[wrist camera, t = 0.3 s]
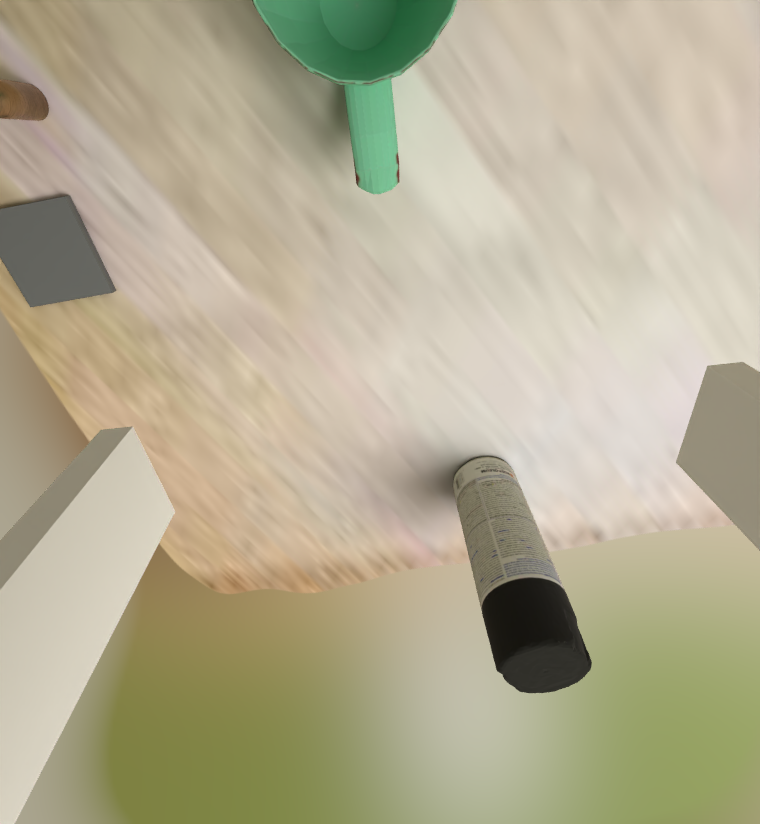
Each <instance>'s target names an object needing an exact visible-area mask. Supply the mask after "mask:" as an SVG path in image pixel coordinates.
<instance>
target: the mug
mask: <svg viewBox="0 0 760 824" xmlns="http://www.w3.org/2000/svg"><path fill="white" fill-rule="evenodd" d="M252 1H253V4H254V6H255V8H256V9H257V11H258V12H259V14H260V16H261V17H262V19H263V20H264V22H265V24H266V25H267V27H268V29H269V30H270V32H271V33H272V35H273V37H274V38H275V40H276V41H277V43H278V44H279V45H280V46H281V47H282V48H283V49H284V50H285V51H287V52H288V53H289V54H290V55H291V56H292V57H293V58H294V59H295V60H296V61H297V62H299V63H300V64H301V65H302V66H303V67H304V68H305V69H306V70H307V71H309V72H311V73H314V74H316V75H318V76H320V77H323V78H325V79H327V80H329V81H332V82H334V83H336V84H338V85H344V91H345V98H346V106H347V113H348V121H349V129H350V136H351V144H352V151H353V158H354V166H355V174H356V183H357V185H358V187H360V188H361V189H363V190H365V191H367V192H369V193H372V194H381V193H384V192H387V191H389V190H392V189H393V188H394V187H395V186H396V185H397V184H398V183H399V158H398V147H397V135H396V125H395V115H394V104H393V94H392V84H391V78H394V77H396V76H399V75H401V74H403V73H404V72H405V71H406V70H407V69H409V68H410V67H411V66H412V65H413V64H414V63H416V62H417V61H418V60H419V59H420V58H422V57H423V56H424V55H425V54H426V53H428V52H429V50H430V49H431V47H432V46H433V44H434V43H435V41H436V39H437V38H438V36H439V35H440V33H441V32H442V30H443V29H444V27H445V26H446V24H447V23H448V21H449V19H450V18H451V16H452V15H453V12H454V9H455V6H456V3H457V0H252Z"/></svg>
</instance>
